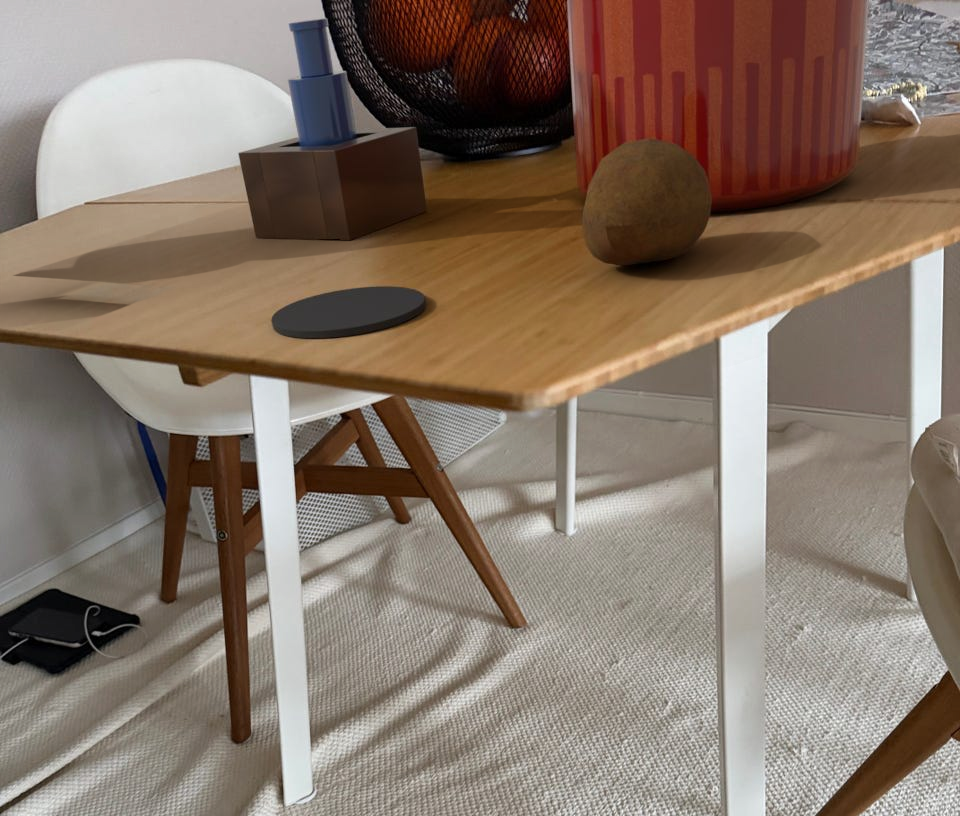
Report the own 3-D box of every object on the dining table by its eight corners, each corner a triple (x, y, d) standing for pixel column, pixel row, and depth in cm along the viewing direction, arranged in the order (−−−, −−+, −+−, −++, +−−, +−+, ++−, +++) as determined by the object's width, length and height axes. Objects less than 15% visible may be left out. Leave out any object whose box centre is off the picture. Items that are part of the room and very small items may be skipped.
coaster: (240, 332, 70) (238, 324, 70) (341, 290, 77) (339, 283, 76) (360, 343, 65) (358, 335, 64) (456, 297, 71) (455, 289, 71)
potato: (728, 239, 77) (729, 119, 73) (689, 288, 67) (688, 152, 63) (616, 242, 80) (611, 127, 76) (564, 289, 70) (555, 160, 66)
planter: (591, 232, 83) (574, -83, 73) (568, 182, 103) (551, -72, 92) (896, 197, 82) (923, -129, 72) (814, 153, 102) (826, -108, 91)
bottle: (303, 230, 97) (264, 26, 89) (339, 217, 101) (305, 20, 92) (345, 231, 95) (310, 21, 86) (381, 218, 98) (350, 15, 90)
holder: (255, 237, 97) (237, 152, 93) (335, 210, 104) (322, 130, 101) (349, 240, 91) (334, 150, 88) (427, 211, 99) (416, 127, 95)
